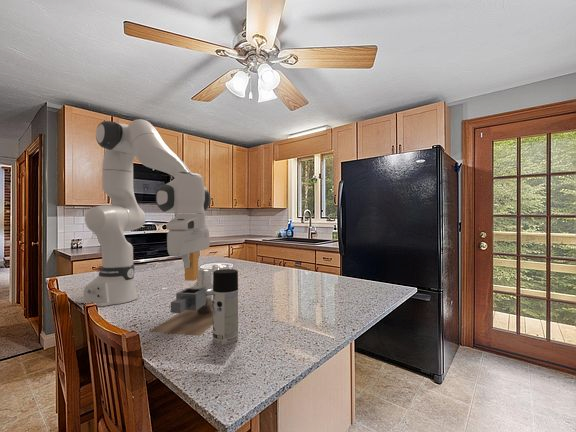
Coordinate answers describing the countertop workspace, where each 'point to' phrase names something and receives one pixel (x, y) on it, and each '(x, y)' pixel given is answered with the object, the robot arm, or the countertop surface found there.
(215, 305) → the spray can
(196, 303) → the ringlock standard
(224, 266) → the beer glass
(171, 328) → the base board
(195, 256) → the orange rectangular block
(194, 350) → the countertop surface
